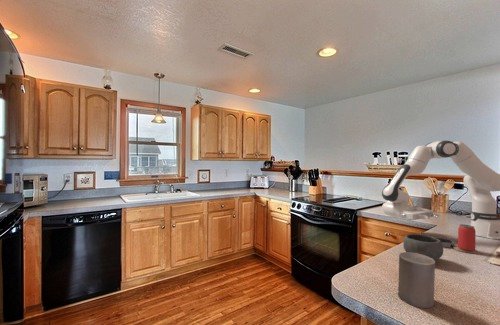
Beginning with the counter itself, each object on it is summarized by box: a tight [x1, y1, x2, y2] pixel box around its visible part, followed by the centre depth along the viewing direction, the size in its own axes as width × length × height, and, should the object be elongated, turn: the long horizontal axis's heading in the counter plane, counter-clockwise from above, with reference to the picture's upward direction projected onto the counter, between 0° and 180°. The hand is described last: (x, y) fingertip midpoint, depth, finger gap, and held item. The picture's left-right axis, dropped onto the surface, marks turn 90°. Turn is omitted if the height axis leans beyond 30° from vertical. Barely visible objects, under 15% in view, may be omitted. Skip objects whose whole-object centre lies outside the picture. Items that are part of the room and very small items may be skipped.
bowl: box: [402, 233, 444, 262], centre depth 111 cm, size 15×15×10 cm
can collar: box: [432, 236, 455, 249], centre depth 131 cm, size 10×10×2 cm
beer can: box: [457, 223, 477, 251], centre depth 122 cm, size 7×7×12 cm
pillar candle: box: [397, 251, 436, 309], centre depth 78 cm, size 10×10×15 cm
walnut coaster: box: [452, 245, 478, 255], centre depth 123 cm, size 9×9×1 cm
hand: (433, 216), depth 137 cm, fingers open, 8 cm apart
